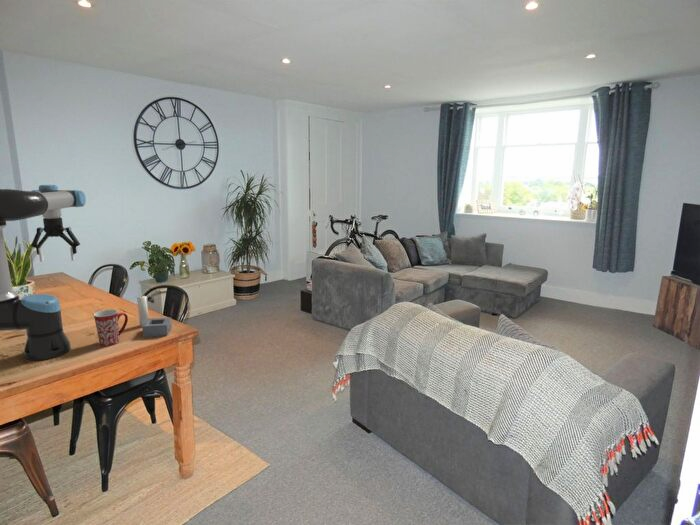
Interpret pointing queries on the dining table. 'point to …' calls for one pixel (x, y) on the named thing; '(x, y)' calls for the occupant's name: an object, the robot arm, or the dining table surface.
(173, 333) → the dining table surface
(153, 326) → the holder
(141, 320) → the candle
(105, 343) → the mug
